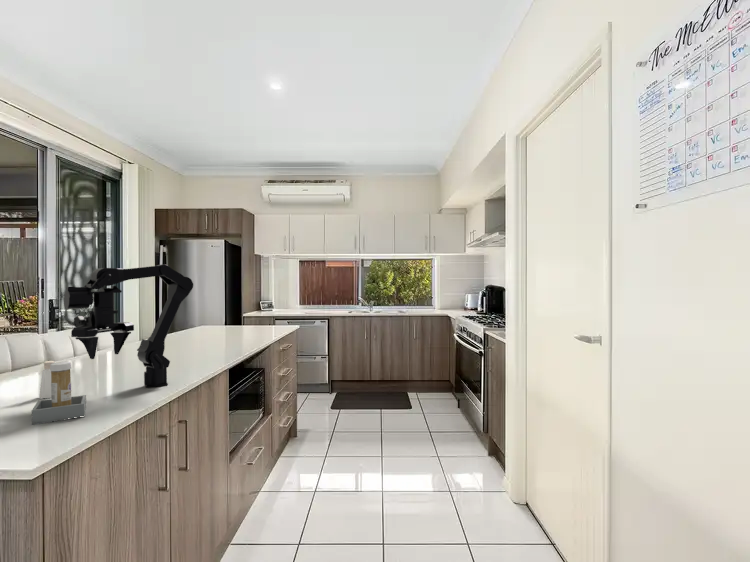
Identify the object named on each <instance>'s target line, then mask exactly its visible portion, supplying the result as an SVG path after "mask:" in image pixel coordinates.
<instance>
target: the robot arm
mask: <svg viewBox="0 0 750 562" xmlns="http://www.w3.org/2000/svg"><path fill="white" fill-rule="evenodd" d="M152 277H159V278H160V279H161V280H162V281H163V282H164V283H165V284H166V285H167V286H168V288H167V300H166V301H165V303H164V306H163V308H162V311H161V312H160V314H159V316H158V319H157V322H156V324H155V326H154V328H153V330H152V332H151V333H150V336H149V337H148V338H147V339H141V341H140V345H139V347H138V348H137V349H136V351H138V352H137V355H136V356H137V358H138V360H139V362H141V363H142V364H143V367H145V371H144V372H143V386H145V388H154V387H162V386H168V385H169V383H168V376H167V374H168V371H167V369H168V368H169V366H170V364H171V360H169V359H168V358H167V357H166V356H165V355H164V353H165V347H166V345H165V340H166V338H167V335H168V334H169V331H170V329H171V327H172V324H173V322H174V320H175V317H176V315H177V313H178V310H179V309H180V305H181V304H182V302H183V301H185V299H186V298H187V297H188V296H189V295H190V293H191V292H192V290H193V288H194V281H193V280H192V279H191V278H190V277H189V276H184V275H183V274H182V273H180V272H178V271H176V270H175V269H173V268H172V267H170V266H169V265H167V264H165V263H164V264H163V263H162V264H158V265H157V264H156V265H151V266H144V267H132V268H118V267H116V268H115V267H100V268H96V269H94V270H93V271H92V273H91V274H90V279H89V280H88V281H87V282H86V284H85V285H84V286H80V287H79V286H78V287H76V286H66V287H65V292H64V297H62V298H63V306H64V309H66V310H76V309H77V310H78V309H89V307H90V306H92V305H93V310H91V311H89V315H88V316H86V317H84V316H83V315H79V316H74V317H73V324H74V327H73V328H72V330H71V331H70V334H71V336H70V337H71V338H75V339H76V340H78V341H80V342H81V343H82V344H83V345H84V348H85V350H86V352H87V355H88V357H89V359H90V360H94V359H95V358H96V353H97V347H98V341H99V336H97V335H98V334H100V333H102V334H103V333H108V332H109V333H110V335H111V336H112V338H113V339H112V340H113V352H114V355H119V354H120V352H121V349H122V348H123V346H124V343H125V342H126V340H127V339H128V337H129V335H130V334H132V332H133V331H135V324H134V323H133V322H132V321H131V322H127V321H126V322H125V321H123V322H122V321H119V322H115V320H116V315H115V314H118V312H119V311H118V309H115V293H116V294H120V293H122V291H123V290H121V289H120V288H118V286H117V284H120V283H123V282H126V281H129V280H130V281H131V280H136V279H137V280H138V279H145V278H152ZM92 290H99V291H92Z"/></svg>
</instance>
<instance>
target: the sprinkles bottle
mask: <svg viewBox="0 0 750 562" xmlns="http://www.w3.org/2000/svg"><path fill="white" fill-rule="evenodd" d="M71 369H72V362H71V361H58V362H55V363H52V364H51V365H50V371H51V398H50V399H51V400H52V407H59V406H67V405H71V397H72V382H71Z"/></svg>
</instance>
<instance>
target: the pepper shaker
mask: <svg viewBox="0 0 750 562" xmlns="http://www.w3.org/2000/svg"><path fill="white" fill-rule="evenodd" d="M52 363H56V361H55V360H47V361H46V360H45V361H44V362H43V367H44V368H43V369H42V371H41V378H40V384H39V385H40V387H39V394H38V395H39V396H38V397H39V399H41V398H47V399H51V371H50V365H51V364H52Z"/></svg>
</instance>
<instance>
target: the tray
mask: <svg viewBox="0 0 750 562" xmlns="http://www.w3.org/2000/svg"><path fill="white" fill-rule="evenodd" d="M85 410H86V411H87V394H83V395H76V396H71V405H67V406H59V407H52V400H51V398H48V399H40V400H37V402H36V403H35V405H34V406H33V408H32V409H31V426H32V425H40V424H47V423H52V421H54V422H58V421H57V420H61V421H65V420H64V419H68V418H74V417H80V416H84V415H85V416H86V412H85ZM68 420H69V419H68Z"/></svg>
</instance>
